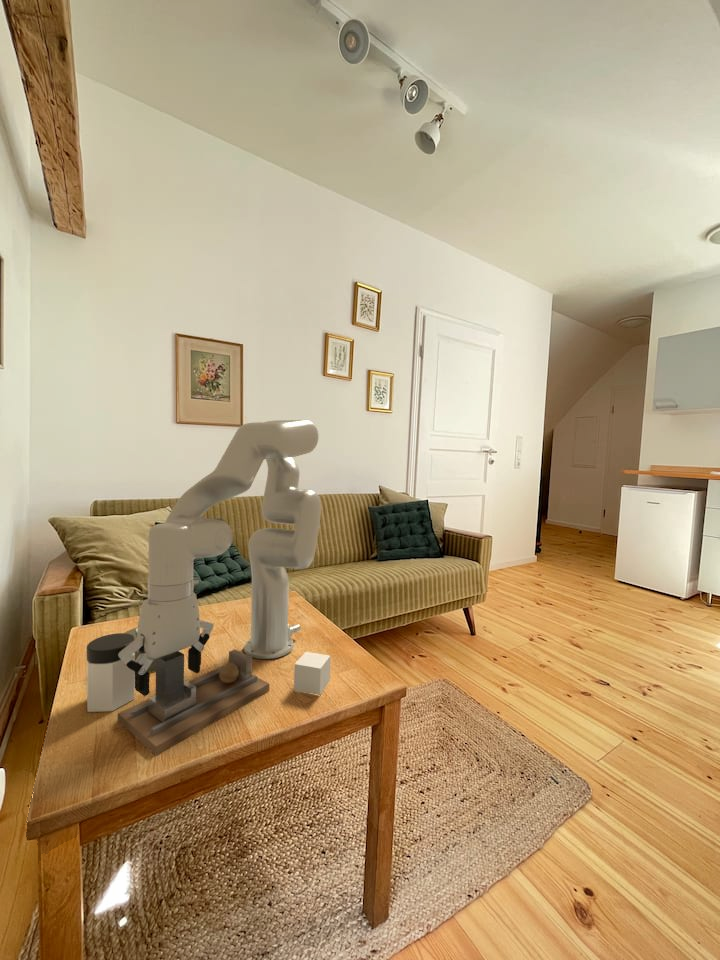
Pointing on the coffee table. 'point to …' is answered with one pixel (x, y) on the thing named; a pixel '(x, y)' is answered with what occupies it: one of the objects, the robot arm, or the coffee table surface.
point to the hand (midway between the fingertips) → (169, 681)
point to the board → (198, 704)
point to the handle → (171, 688)
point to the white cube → (312, 673)
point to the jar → (109, 673)
